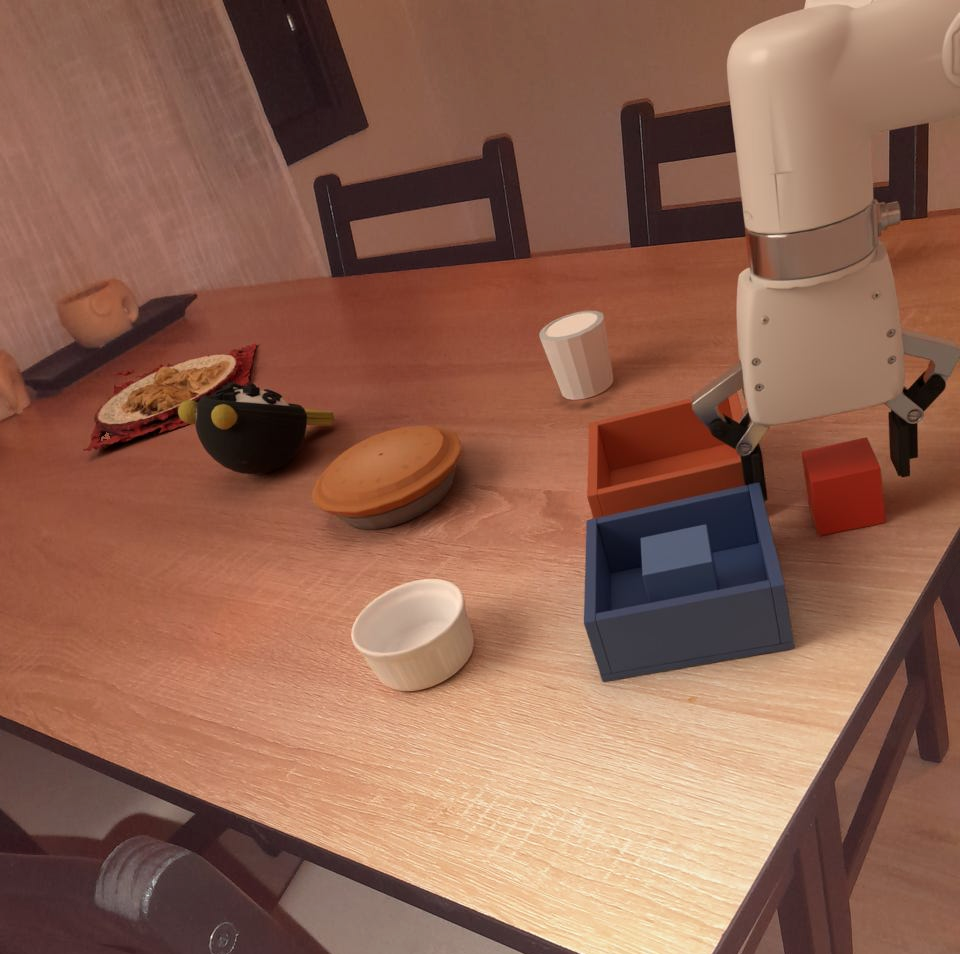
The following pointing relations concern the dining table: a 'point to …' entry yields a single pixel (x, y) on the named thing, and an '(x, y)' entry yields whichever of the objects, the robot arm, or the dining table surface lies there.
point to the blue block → (678, 564)
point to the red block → (844, 486)
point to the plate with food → (166, 395)
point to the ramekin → (415, 634)
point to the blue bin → (690, 619)
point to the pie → (389, 477)
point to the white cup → (578, 354)
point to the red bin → (658, 458)
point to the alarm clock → (250, 427)
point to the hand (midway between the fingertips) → (829, 481)
